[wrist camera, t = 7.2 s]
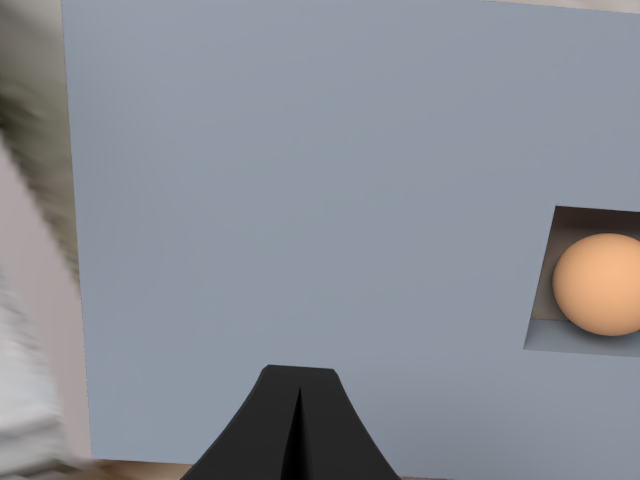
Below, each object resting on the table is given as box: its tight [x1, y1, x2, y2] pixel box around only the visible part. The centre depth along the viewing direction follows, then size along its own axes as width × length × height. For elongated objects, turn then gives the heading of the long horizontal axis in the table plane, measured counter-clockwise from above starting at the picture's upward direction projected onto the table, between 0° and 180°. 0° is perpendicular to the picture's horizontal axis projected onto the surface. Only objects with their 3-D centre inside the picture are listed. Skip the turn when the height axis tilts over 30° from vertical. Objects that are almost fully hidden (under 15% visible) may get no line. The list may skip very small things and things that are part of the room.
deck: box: [61, 0, 640, 480], centre depth 18 cm, size 16×22×4 cm
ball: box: [552, 233, 640, 336], centre depth 19 cm, size 3×3×3 cm
